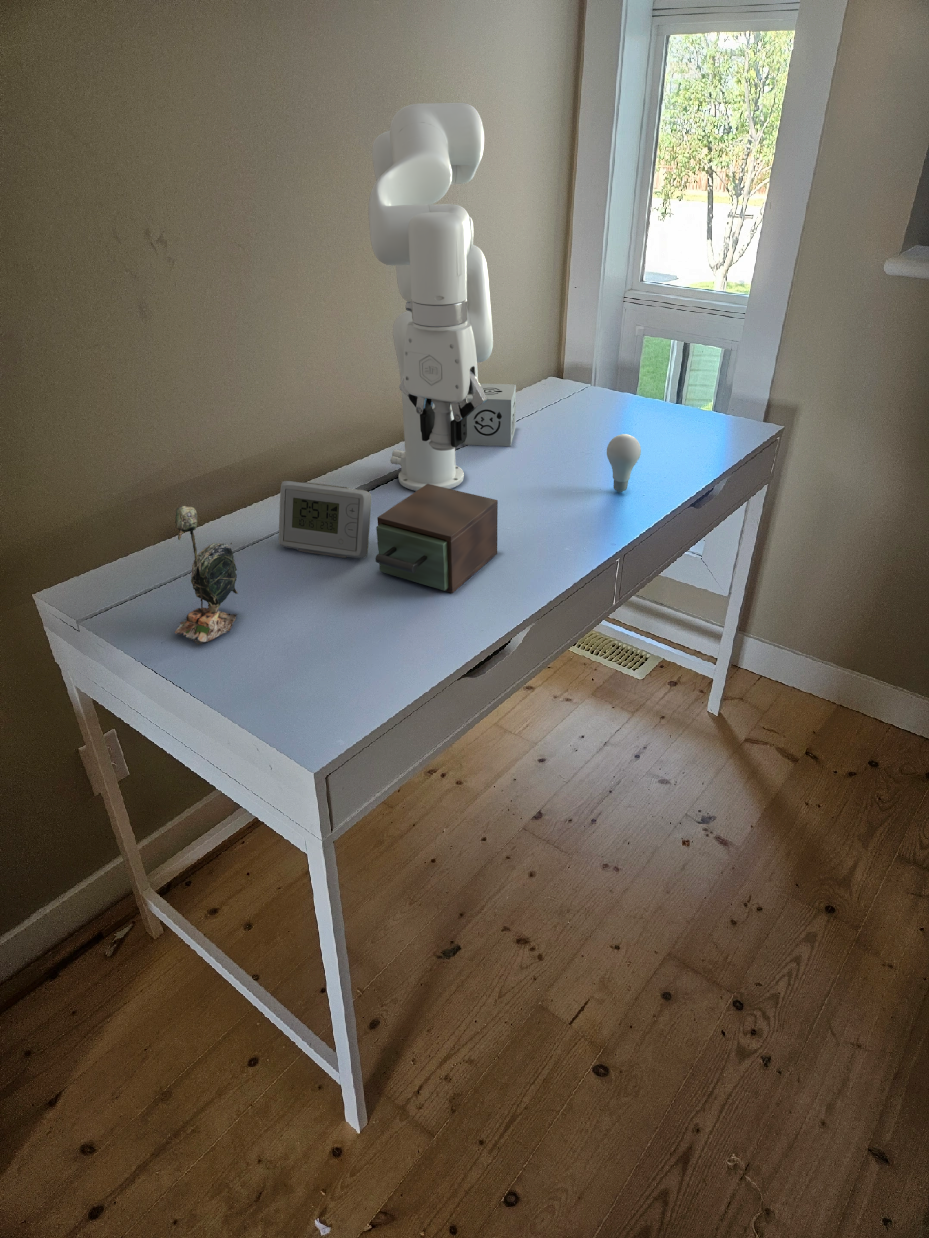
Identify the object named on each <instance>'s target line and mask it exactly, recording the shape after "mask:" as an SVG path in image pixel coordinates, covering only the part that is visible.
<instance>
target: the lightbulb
mask: <svg viewBox="0 0 929 1238" xmlns="http://www.w3.org/2000/svg"><path fill="white" fill-rule="evenodd" d="M641 447H642V446H641V444H640V442H639V440H638V439H637V438H636V437H634V436H633V435H630V434H627V433H622V434H618V435H616V436H614V437H613V438H611V440H610V441H609V442H608V444H607V447H606V457H607V459H608V462H609V464H610V466H611V469H612V471H611V472H612V479H613V489H614V490H615V491H617V493H623V492H625V491H627V490H628V485H629V480H630V478H631V475H632V470H633V469H634V467H635V465H636V464H637V463H638V461H639V459H640V458H641V455H642V448H641Z"/></svg>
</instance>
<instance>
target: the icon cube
mask: <svg viewBox="0 0 929 1238" xmlns="http://www.w3.org/2000/svg"><path fill="white" fill-rule="evenodd" d="M479 384H480V386H481V388H482V389H483V391H484V393H485V395H486V396H487V401H486V402H485V403H483V404H482V405H480V406H478V407H477V408H476V409H475V410H474V411H472V412H471V413H470V415H469V416H467V438H466V440H465V442H464V443H463V445H464V446H486V447H489V446H490V447H512V443H513V439H514V436H515V431H516V407H517V406H516V402H517V401H516V399H517V384H514V383H513V384H511V383H481V382H479ZM467 398H468V402H470V401H471V400H472V399H473V396H472V395H467Z"/></svg>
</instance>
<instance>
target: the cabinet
mask: <svg viewBox="0 0 929 1238" xmlns="http://www.w3.org/2000/svg"><path fill="white" fill-rule="evenodd" d="M498 503H499V501H498V499H495V498H491V497H486V496H482V495H479V494H474V493H469V492H465V491H460V490H456V489H453V488H451V489H448V488H444V487H439V486H435V485H431V484H426V485H425V486H423V487H422V488H420V489H419V490H417V491H415V492H413V493H411V494H410V495H408V496H407V497H405V498H404V499H402V500H401V501H399V502H397V504H395V505H394V506H392V507H390V508H389V509H388V510H386V511H385V512H383V513H381V514H380V515H379V516H377V518H376V519H377V526H378V525H380V524H384V525H387V526H390V525H391V526H395V527H399V528H402V529H406V530H410V531H414V532H417V533H421V534H425V535H429V536H432V537H436V538H440V539H444V540H447V548H448V579H449V587H448V588H447V589H446V590H445V591H444V590H441V589H439V590H440V591H442V592H443V591H444V592H446V593H450V594H453V593H454V592H456V591H457V590H458V589H459V588H460V587H461V586H462V585H464V584H465V583H466V582H467V581H469V579H471V578H472V577H473V576H474V575H475V574H476V573H477V572H478V571H480V570H481V569H482V568H484V567H485V565H486V564H488V562H490V561H492V559H493V558H495V557H496V556H497V555H498V517H499V516H498V510H499V509H498V505H499V504H498ZM382 573H383V574H386V575H388V574H387V573H384V572H382ZM392 576H393V577H396V578H398V577H397V576H394V575H392ZM402 579H403V580H406V581H408V580H407V579H404V578H402ZM412 582H413V583H415V582H414V581H412ZM419 584H420V585H423V586H425V585H424V584H421V583H419ZM429 587H430V588H433V589H435V588H434V587H431V586H429Z"/></svg>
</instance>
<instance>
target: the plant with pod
mask: <svg viewBox="0 0 929 1238" xmlns="http://www.w3.org/2000/svg"><path fill="white" fill-rule="evenodd" d="M174 521H175V529H176V530H178V533H177V540H178V541H181V539H182V535H183V534H186V533H188V532H189V534H190V538H191V542H192V548H193V553H194V559H193V562H192V564H191V570H190V571H191V573H190V583H191V585H192V589H193V590H194V594H195V596H196V597H197V598H198V599H200V607H198V608H195V609H193V610H192V611H190V612H189V613H187V615H186V617H185V619H184V620H183V621H181V622H179V624H180V625H178V626H177V628H176V629H175V631H174V633H175V635H181V634H183V635H182V637H185V638H188V641H189V640H191V641H193V642H194V643H195V644H197V645H202V644H205V643H208V642H211V641H214V640H215V639H217V637H220V636H221V635H223V634H227V632H230V631H231V630H232V628H233V626H234V625H233V624H234V623H235V621H236V620H237V619H236V618H237V617H238V614H239V613H238V614H237V613H228V612H224V611H221V610H219V609H220V607H221V604H222V603H223V602H225V601H226V600H227V598H228V597H229V595H230V594H231V593H233V594H235V595H238V594H239V592H238V591H237V589H236V582H237V577H238V575H237V574H238V573H237V571H238V569H237V565H236V563H235V558H234V557H235V556H234V552H233V549H232V547H231V546H229V544H226V543H219V542H212V543H211V544H209V545H207V546H206V547H204V548H203V549H202V550H201V551H199V552H198V549H197V546H196V544H197V543H196V538H195V537H196V536H195V533H194V531H196V530H197V527H198V512H197V510H196V508H195V507H193V506H186V505H181V506H178V507H177V508H176V509H175V520H174ZM232 542H233V541H232ZM232 542H230V545H233V543H232ZM204 601H205V602H206V603H207V607H204V606H203V605H204Z"/></svg>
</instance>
